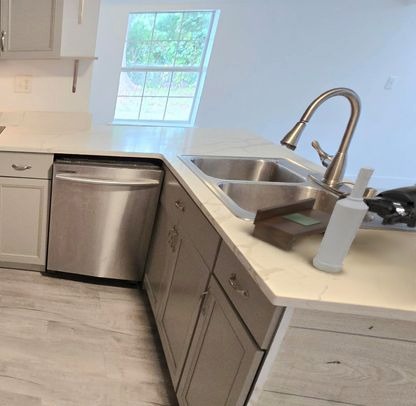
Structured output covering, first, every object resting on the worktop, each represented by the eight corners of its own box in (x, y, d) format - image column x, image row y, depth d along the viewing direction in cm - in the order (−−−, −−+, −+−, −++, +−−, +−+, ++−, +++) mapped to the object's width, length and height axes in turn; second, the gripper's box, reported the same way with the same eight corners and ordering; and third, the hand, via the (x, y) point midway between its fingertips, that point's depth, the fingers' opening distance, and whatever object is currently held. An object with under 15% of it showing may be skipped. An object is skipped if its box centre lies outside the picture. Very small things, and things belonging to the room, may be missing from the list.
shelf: (342, 236, 100) (353, 210, 97) (287, 252, 94) (297, 224, 91) (302, 222, 109) (311, 197, 106) (249, 234, 103) (257, 209, 100)
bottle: (346, 272, 85) (392, 171, 75) (326, 274, 85) (369, 172, 75) (325, 260, 90) (366, 164, 80) (305, 262, 90) (344, 165, 80)
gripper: (372, 179, 93) (330, 187, 88) (454, 199, 80) (410, 210, 76) (360, 206, 96) (319, 215, 91) (438, 229, 83) (394, 241, 79)
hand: (360, 213), depth 83 cm, fingers open, 8 cm apart
